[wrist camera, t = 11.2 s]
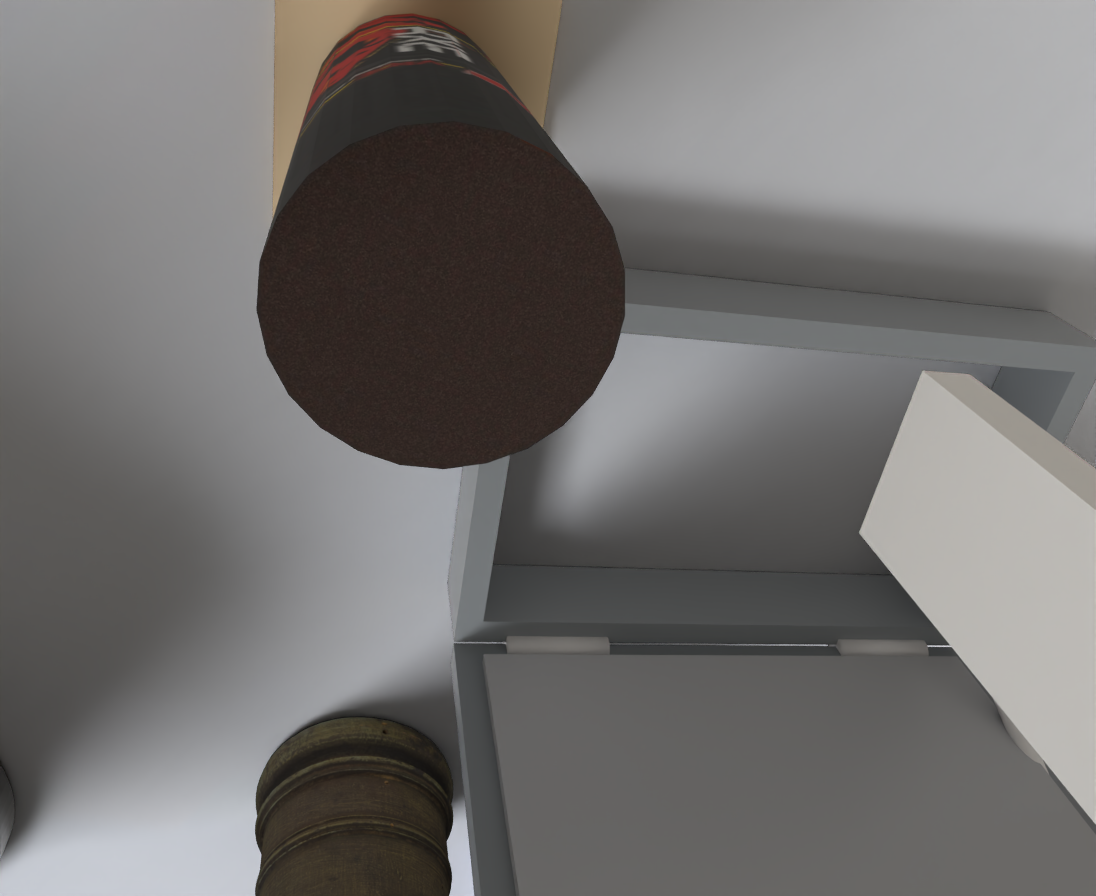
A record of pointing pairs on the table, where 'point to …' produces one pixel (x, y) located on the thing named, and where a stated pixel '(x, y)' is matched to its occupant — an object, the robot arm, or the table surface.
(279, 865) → the container
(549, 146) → the deodorant
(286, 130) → the pad
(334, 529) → the table surface
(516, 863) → the case
